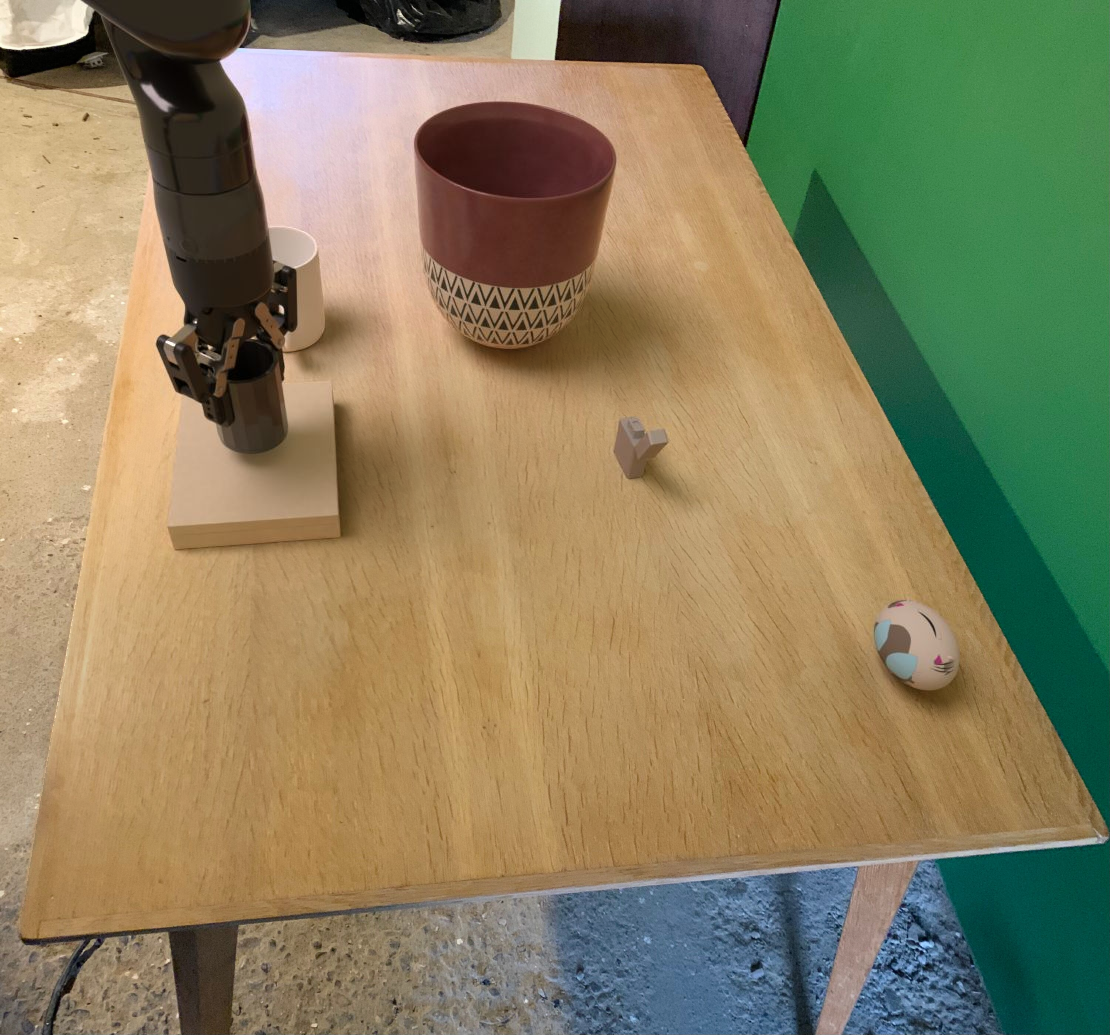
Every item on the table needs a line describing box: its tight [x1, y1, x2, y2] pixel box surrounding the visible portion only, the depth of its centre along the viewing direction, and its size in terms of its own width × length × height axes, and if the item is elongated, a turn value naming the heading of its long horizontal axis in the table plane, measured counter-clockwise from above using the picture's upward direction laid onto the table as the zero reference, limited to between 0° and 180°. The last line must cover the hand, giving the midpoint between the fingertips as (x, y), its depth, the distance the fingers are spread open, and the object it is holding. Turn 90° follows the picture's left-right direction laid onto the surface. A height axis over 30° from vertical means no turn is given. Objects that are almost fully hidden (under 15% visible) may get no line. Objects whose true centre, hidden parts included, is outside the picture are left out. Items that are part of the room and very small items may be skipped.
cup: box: [251, 225, 326, 353], centre depth 98 cm, size 8×12×10 cm
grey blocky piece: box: [613, 415, 669, 480], centre depth 90 cm, size 7×2×8 cm, turn 18°
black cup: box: [207, 338, 288, 454], centre depth 82 cm, size 6×6×8 cm
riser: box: [166, 380, 342, 550], centre depth 87 cm, size 18×14×3 cm
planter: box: [413, 100, 617, 350], centre depth 99 cm, size 20×20×21 cm
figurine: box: [873, 596, 961, 691], centre depth 78 cm, size 8×6×7 cm
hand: (247, 400), depth 82 cm, fingers closed on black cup, 6 cm apart
